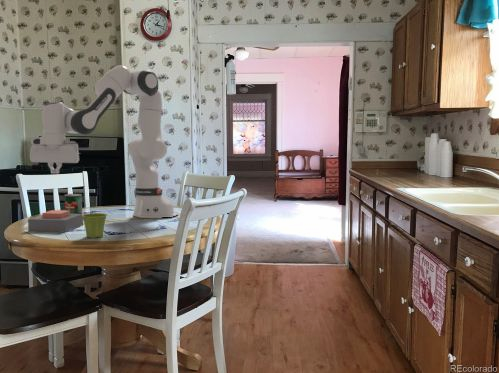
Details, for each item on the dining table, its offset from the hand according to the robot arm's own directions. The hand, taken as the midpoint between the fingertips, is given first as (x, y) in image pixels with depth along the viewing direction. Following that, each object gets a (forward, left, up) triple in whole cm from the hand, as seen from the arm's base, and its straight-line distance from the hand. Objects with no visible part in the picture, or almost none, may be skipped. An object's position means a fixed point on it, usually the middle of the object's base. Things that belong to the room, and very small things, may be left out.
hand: (55, 173), depth 190 cm
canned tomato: (+6, -28, -24) cm, 37 cm away
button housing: (0, 0, -24) cm, 24 cm away
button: (0, 0, -21) cm, 21 cm away
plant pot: (-23, +14, -24) cm, 36 cm away
